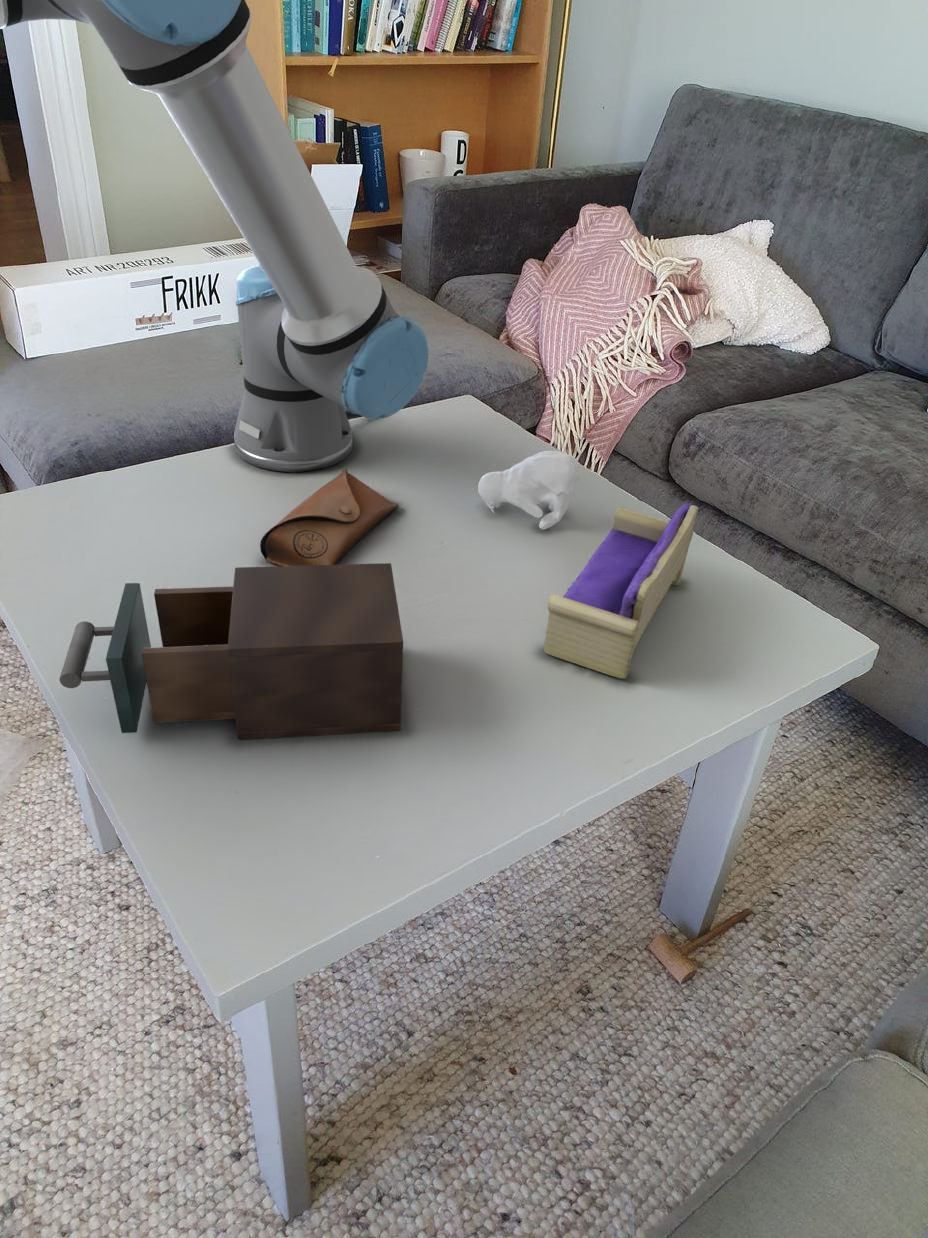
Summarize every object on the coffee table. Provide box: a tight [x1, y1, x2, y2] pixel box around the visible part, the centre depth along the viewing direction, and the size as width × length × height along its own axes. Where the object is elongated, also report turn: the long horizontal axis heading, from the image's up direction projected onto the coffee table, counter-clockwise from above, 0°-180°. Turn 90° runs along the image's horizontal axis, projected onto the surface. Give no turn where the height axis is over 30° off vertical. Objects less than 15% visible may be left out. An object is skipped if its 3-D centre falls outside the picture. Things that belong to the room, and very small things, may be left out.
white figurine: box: [477, 450, 580, 531], centre depth 108 cm, size 6×8×12 cm
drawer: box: [58, 582, 236, 734], centre depth 77 cm, size 17×10×8 cm, turn 99°
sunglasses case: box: [259, 468, 400, 566], centre depth 103 cm, size 18×7×7 cm
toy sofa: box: [543, 503, 699, 680], centre depth 91 cm, size 21×9×10 cm, turn 154°
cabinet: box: [228, 562, 404, 740], centre depth 79 cm, size 14×12×10 cm
